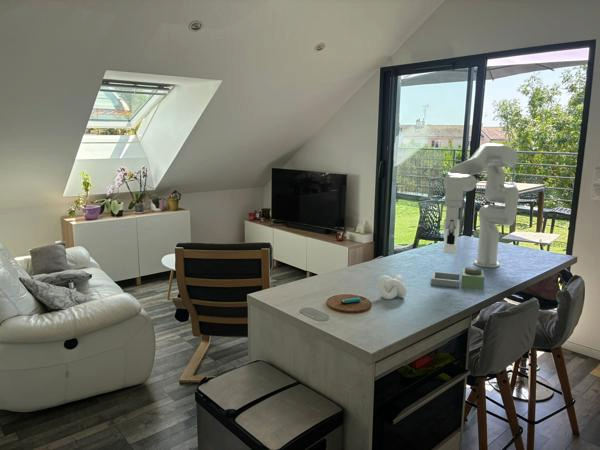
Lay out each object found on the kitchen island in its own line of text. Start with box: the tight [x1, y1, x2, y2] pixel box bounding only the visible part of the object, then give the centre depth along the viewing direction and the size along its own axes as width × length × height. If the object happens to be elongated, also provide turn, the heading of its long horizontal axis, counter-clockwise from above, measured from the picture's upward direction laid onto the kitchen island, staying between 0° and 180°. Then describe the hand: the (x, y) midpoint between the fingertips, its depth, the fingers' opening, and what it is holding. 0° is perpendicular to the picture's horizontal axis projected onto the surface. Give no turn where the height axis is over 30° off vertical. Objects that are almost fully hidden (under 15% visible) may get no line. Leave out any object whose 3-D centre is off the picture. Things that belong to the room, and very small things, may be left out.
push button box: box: [431, 266, 485, 291], centre depth 214 cm, size 12×22×8 cm, turn 71°
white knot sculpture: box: [377, 274, 408, 300], centre depth 196 cm, size 11×12×9 cm
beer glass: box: [442, 218, 461, 255], centre depth 212 cm, size 7×7×15 cm
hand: (450, 241), depth 212 cm, fingers closed on beer glass, 6 cm apart
